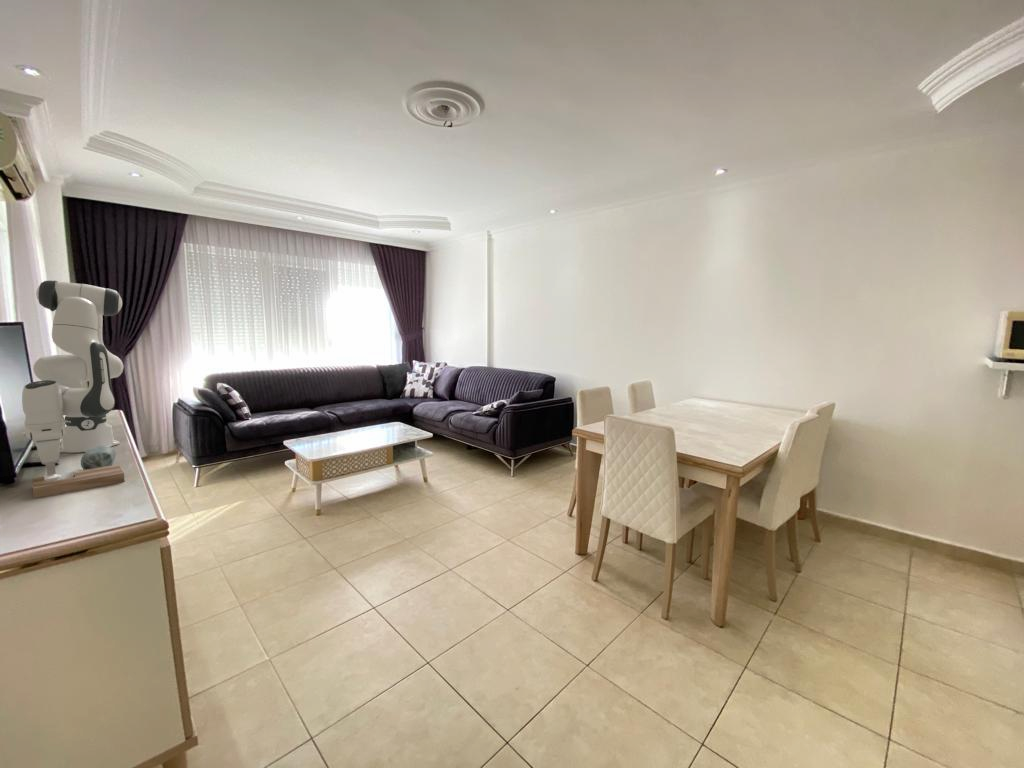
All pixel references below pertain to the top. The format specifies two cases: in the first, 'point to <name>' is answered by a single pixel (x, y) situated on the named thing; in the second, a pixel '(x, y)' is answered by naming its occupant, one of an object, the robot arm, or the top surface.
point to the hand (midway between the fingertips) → (50, 471)
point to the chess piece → (51, 477)
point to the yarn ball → (98, 457)
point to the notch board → (78, 481)
